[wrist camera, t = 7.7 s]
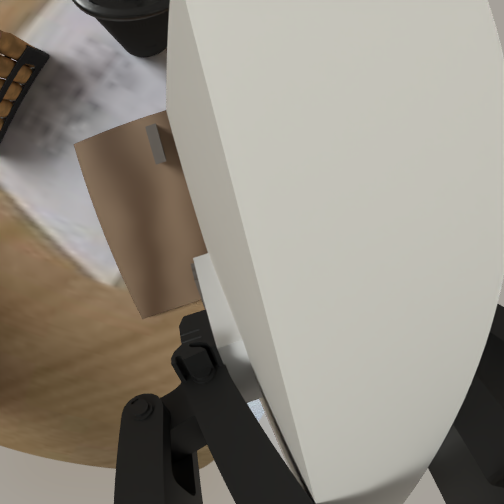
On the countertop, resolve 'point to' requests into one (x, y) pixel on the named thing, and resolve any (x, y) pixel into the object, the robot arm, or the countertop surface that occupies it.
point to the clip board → (145, 211)
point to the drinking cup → (132, 22)
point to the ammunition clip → (16, 74)
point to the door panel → (348, 216)
